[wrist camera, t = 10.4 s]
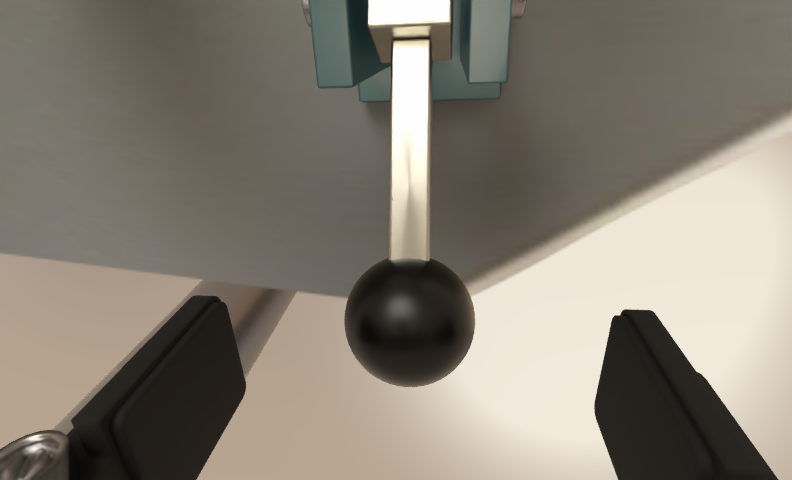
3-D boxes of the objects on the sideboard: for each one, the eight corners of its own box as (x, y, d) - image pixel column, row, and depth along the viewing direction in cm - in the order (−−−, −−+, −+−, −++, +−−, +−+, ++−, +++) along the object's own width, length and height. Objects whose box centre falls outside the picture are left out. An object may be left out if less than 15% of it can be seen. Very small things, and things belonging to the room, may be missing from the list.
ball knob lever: (470, 367, 14) (478, 412, 10) (358, 362, 14) (328, 404, 11) (475, -21, 14) (485, -112, 10) (362, -15, 14) (333, -100, 11)
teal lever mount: (497, 95, 22) (540, 152, 12) (363, 99, 23) (290, 155, 13) (508, -97, 19) (582, -259, 8) (351, -85, 20) (237, -219, 9)
